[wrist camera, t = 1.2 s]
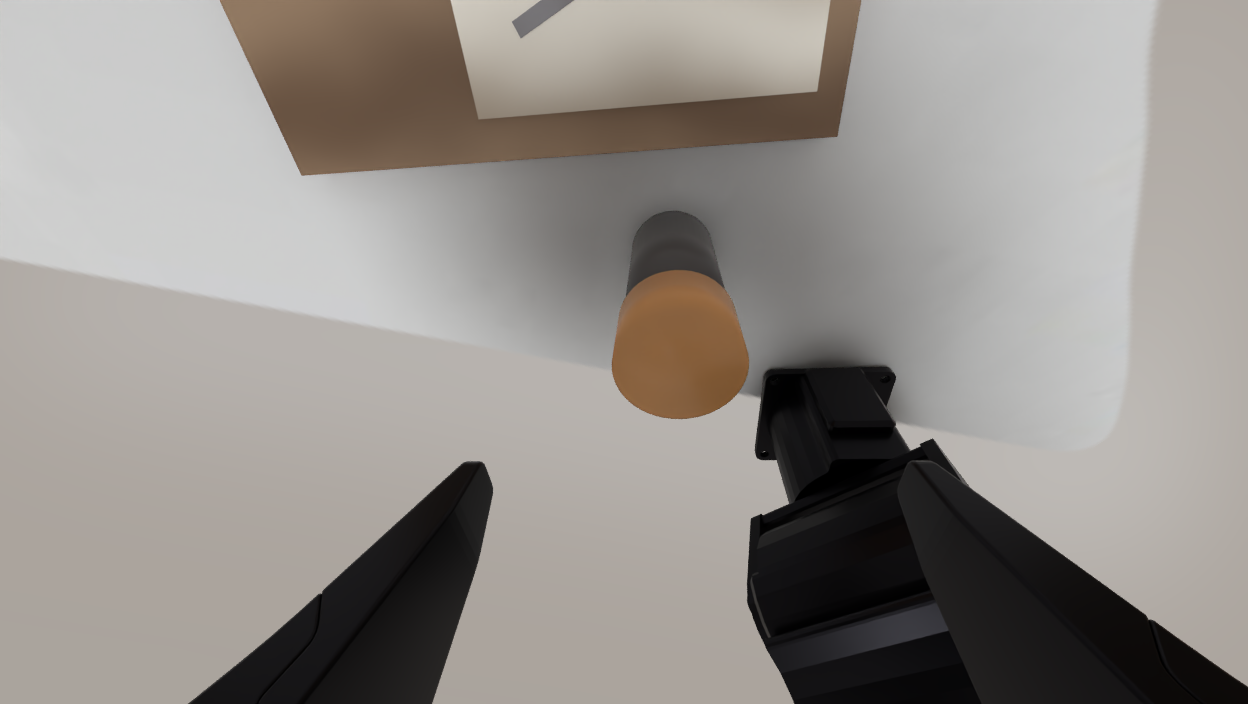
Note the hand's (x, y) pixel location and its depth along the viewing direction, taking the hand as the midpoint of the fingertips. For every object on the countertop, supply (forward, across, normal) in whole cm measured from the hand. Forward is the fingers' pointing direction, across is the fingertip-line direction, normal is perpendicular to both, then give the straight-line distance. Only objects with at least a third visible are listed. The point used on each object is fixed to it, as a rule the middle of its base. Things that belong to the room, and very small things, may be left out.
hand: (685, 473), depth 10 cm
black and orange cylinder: (+13, 0, 0) cm, 13 cm away
